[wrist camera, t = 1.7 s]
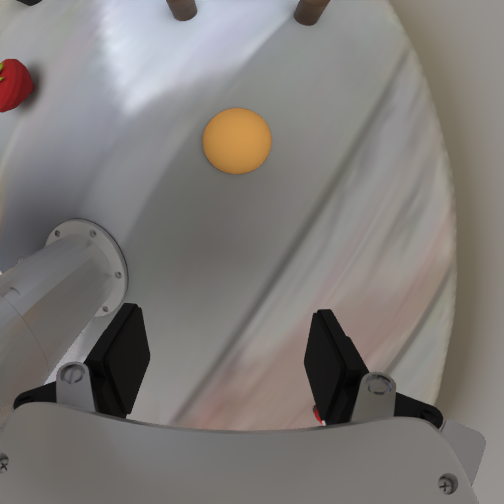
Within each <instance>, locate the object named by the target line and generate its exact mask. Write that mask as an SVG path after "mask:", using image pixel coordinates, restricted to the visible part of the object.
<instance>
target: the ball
mask: <svg viewBox="0 0 504 504" xmlns="http://www.w3.org/2000/svg"><path fill="white" fill-rule="evenodd" d="M271 144H272V137H271V132H270V129H269V127H268V125H267V123H266V122H265V121H264V120H263V118H262V117H260V116H259V115H258V114H256V113H255V112H253V111H250V110H248V109H243V108H232V109H228V110H225V111H222V112H220V113H219V114H217V115H216V116H214V117H213V118H212V119H211V120H210V122H209V123H208V125H207V126H206V128H205V131H204V134H203V149H204V152H205V155H206V157H207V158H208V160H209V161H210V162H211V164H213V165H214V166H215V167H216V168H218V169H219V170H221V171H223V172H226V173H230V174H244V173H248V172H250V171H253V170H254V169H256V168H258V167H259V166H260V165H261V164H262V163H263V162H264V161H265V160H266V158H267V156H268V155H269V152H270V149H271Z"/></svg>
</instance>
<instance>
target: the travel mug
mask: <svg viewBox="0 0 504 504" xmlns="http://www.w3.org/2000/svg"><path fill="white" fill-rule="evenodd" d="M17 1H19V2H22V3H24V4H26V5H29V6H32V5H35V4H37V3H38V2H40V1H41V0H17Z"/></svg>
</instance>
